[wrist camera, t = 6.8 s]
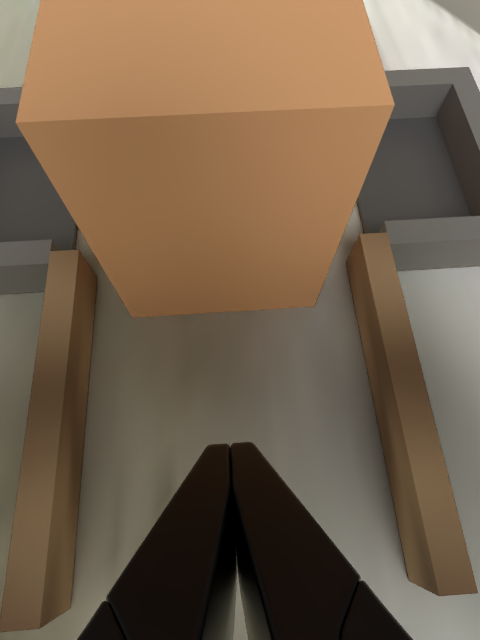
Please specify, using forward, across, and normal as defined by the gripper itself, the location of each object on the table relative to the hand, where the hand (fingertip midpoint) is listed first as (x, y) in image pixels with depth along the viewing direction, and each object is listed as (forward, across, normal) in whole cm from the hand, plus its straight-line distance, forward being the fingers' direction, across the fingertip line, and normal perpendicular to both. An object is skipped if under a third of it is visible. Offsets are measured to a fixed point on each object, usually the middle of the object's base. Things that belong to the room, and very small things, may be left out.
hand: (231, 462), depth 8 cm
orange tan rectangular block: (+14, 0, -5) cm, 15 cm away
